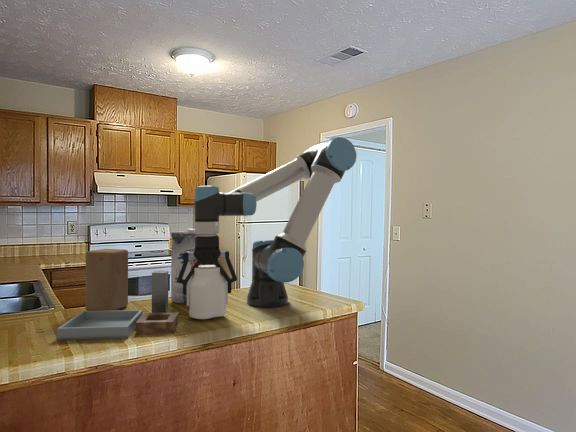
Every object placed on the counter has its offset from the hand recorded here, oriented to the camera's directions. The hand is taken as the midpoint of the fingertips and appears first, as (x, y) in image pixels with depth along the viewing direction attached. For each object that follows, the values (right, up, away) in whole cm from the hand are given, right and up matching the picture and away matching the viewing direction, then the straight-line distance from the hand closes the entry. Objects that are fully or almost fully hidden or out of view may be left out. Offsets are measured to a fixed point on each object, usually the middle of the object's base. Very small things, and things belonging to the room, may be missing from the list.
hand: (207, 304), depth 126 cm
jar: (0, -3, 0) cm, 3 cm away
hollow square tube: (-12, -4, -11) cm, 17 cm away
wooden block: (-36, -4, +9) cm, 37 cm away
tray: (-27, -4, -13) cm, 30 cm away
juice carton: (-13, -4, +22) cm, 26 cm away
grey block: (-16, -4, +3) cm, 17 cm away
